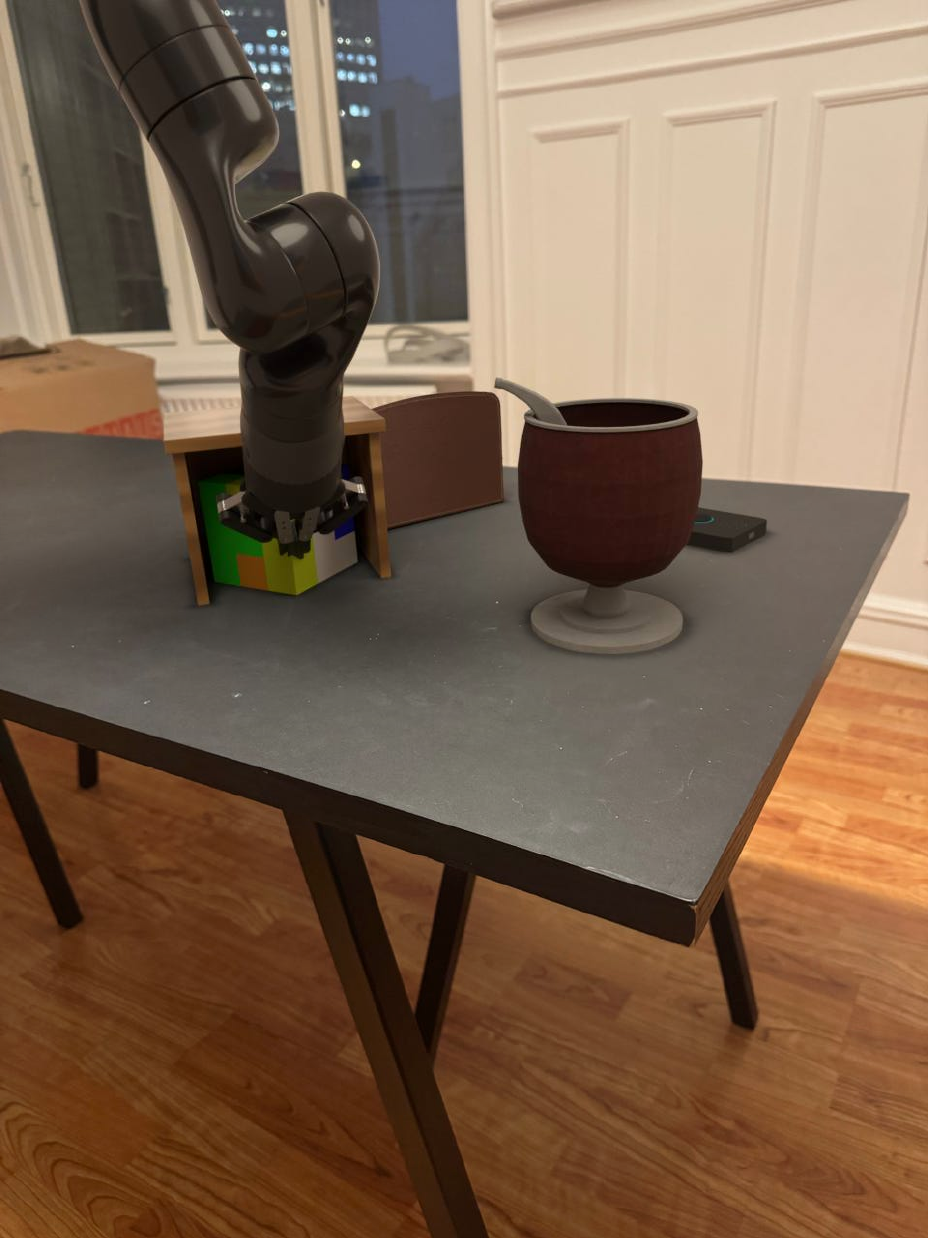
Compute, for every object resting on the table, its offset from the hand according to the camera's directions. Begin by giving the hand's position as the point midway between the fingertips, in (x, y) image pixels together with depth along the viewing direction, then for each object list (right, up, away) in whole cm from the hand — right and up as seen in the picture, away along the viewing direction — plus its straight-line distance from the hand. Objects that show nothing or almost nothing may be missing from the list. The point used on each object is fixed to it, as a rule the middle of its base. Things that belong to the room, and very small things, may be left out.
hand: (293, 551), depth 82 cm
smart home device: (+37, +3, +14) cm, 40 cm away
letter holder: (+10, +7, +25) cm, 27 cm away
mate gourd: (+27, -7, -9) cm, 29 cm away
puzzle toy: (-2, -2, +6) cm, 7 cm away
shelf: (-2, -1, +7) cm, 7 cm away
